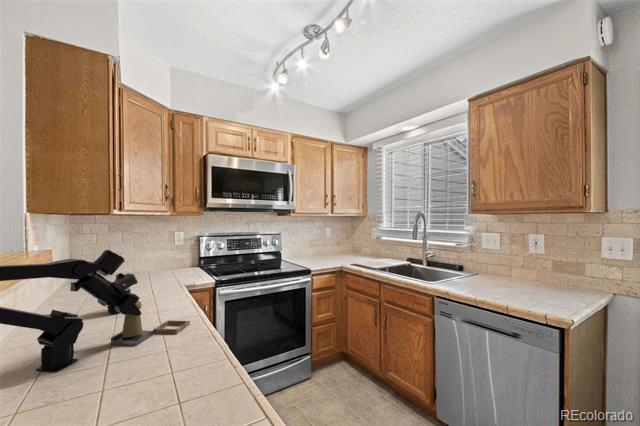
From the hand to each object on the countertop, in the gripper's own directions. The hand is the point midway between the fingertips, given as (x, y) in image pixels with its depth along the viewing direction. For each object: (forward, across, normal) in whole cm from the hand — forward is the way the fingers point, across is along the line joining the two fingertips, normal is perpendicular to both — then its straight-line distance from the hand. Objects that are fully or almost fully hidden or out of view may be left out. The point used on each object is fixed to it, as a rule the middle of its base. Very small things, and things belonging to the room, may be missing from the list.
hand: (137, 313), depth 100 cm
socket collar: (+14, -2, -2) cm, 15 cm away
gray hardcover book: (+5, 0, +7) cm, 9 cm away
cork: (+4, 0, +6) cm, 7 cm away
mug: (+12, +40, 0) cm, 42 cm away
